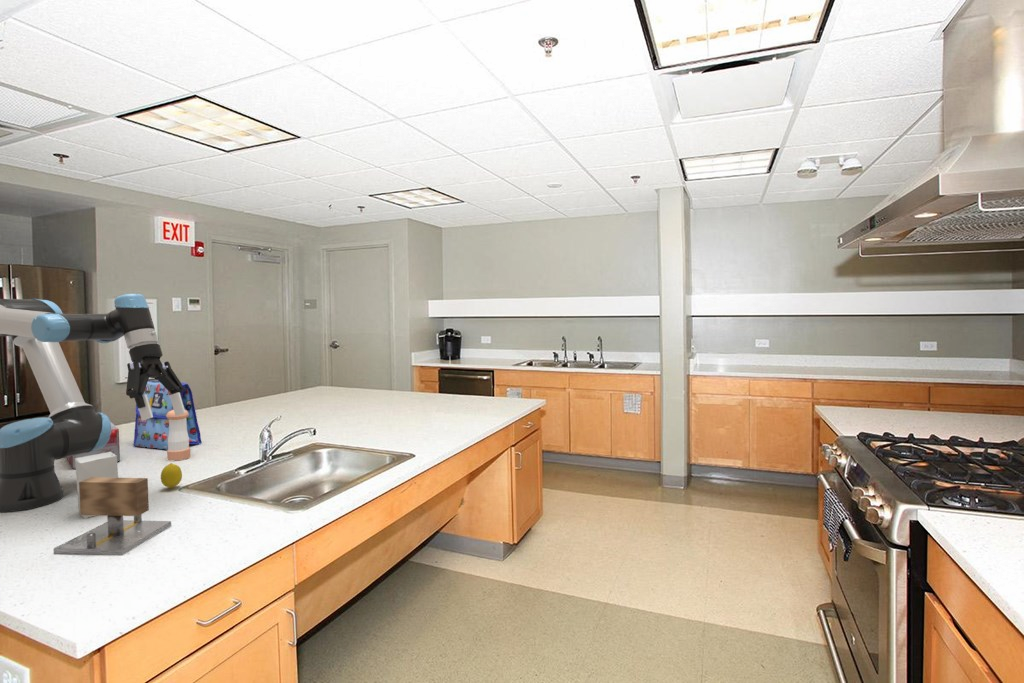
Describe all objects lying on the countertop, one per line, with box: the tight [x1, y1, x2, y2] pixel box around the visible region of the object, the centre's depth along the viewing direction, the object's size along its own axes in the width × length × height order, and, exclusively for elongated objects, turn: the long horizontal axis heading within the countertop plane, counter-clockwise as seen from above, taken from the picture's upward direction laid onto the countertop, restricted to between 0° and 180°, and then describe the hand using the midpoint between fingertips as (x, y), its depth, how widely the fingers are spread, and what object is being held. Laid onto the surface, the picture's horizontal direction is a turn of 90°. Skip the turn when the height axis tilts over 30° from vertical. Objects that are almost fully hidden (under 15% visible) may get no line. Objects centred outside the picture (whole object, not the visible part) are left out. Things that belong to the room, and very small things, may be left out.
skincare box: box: [75, 452, 119, 519], centre depth 141 cm, size 8×7×16 cm
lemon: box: [160, 462, 183, 489], centre depth 160 cm, size 6×6×8 cm
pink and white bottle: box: [166, 410, 191, 461], centre depth 192 cm, size 7×7×19 cm
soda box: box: [66, 421, 121, 470], centre depth 197 cm, size 40×14×13 cm, turn 46°
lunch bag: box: [132, 380, 202, 451], centre depth 210 cm, size 22×14×29 cm, turn 73°
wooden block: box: [79, 477, 150, 517], centre depth 124 cm, size 14×4×8 cm, turn 88°
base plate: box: [53, 514, 172, 556], centre depth 125 cm, size 16×16×6 cm
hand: (164, 416), depth 147 cm, fingers open, 13 cm apart
